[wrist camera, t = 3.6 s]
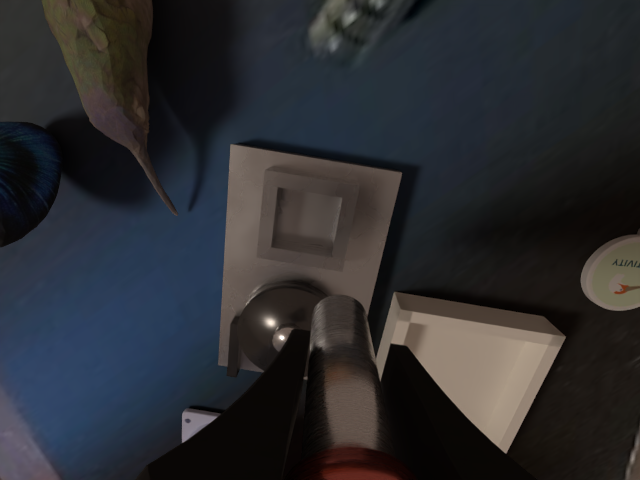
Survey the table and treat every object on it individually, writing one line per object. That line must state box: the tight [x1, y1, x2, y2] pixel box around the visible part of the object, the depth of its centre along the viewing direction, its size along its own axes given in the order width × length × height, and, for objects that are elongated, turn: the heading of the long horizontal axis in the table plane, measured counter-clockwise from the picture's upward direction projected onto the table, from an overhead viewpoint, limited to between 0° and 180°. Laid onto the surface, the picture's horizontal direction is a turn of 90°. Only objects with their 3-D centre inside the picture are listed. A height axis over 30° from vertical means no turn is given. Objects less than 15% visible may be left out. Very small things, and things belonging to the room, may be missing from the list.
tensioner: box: [218, 143, 402, 379], centre depth 20 cm, size 16×10×3 cm, turn 171°
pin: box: [284, 295, 418, 480], centre depth 10 cm, size 3×3×8 cm
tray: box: [376, 292, 566, 453], centre depth 23 cm, size 14×11×2 cm
